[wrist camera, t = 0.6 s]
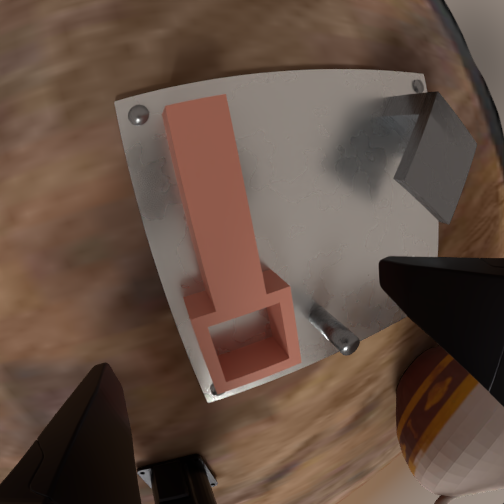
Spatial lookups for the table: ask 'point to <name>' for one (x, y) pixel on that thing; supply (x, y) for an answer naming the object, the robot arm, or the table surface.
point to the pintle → (334, 331)
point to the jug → (449, 428)
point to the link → (226, 245)
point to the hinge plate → (290, 200)
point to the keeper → (431, 150)
